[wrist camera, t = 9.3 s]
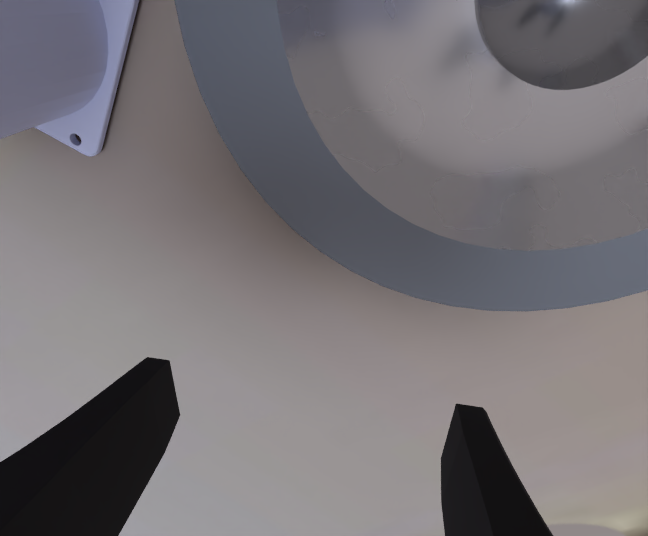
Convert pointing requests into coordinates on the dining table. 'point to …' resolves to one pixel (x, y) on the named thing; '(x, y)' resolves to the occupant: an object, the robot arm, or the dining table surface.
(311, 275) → the dining table surface
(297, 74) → the light grey rounded piece
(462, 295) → the grey round plate
